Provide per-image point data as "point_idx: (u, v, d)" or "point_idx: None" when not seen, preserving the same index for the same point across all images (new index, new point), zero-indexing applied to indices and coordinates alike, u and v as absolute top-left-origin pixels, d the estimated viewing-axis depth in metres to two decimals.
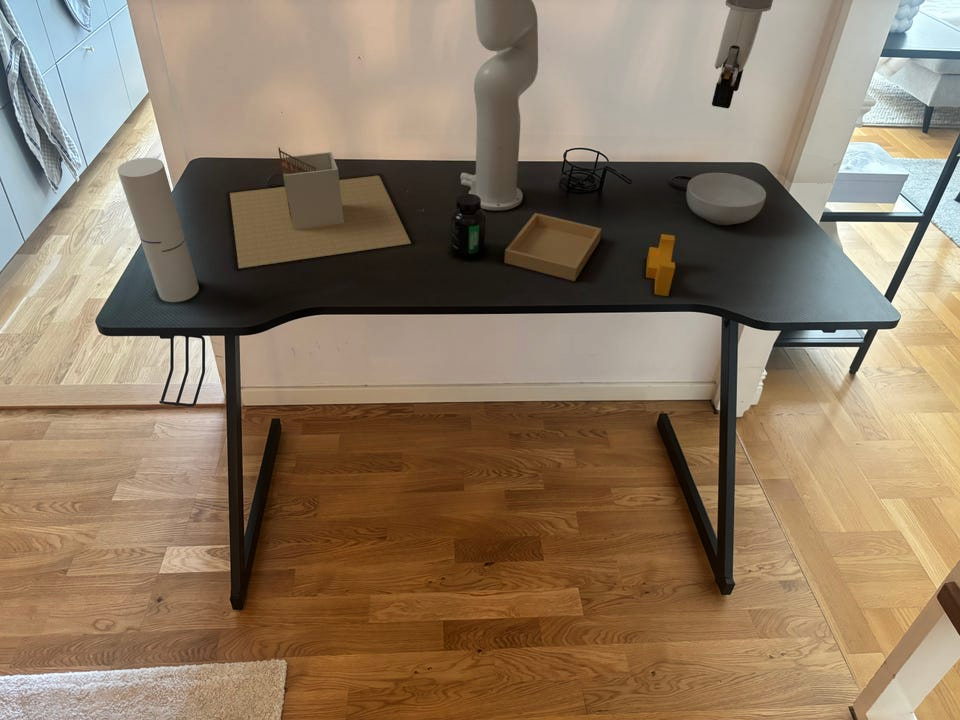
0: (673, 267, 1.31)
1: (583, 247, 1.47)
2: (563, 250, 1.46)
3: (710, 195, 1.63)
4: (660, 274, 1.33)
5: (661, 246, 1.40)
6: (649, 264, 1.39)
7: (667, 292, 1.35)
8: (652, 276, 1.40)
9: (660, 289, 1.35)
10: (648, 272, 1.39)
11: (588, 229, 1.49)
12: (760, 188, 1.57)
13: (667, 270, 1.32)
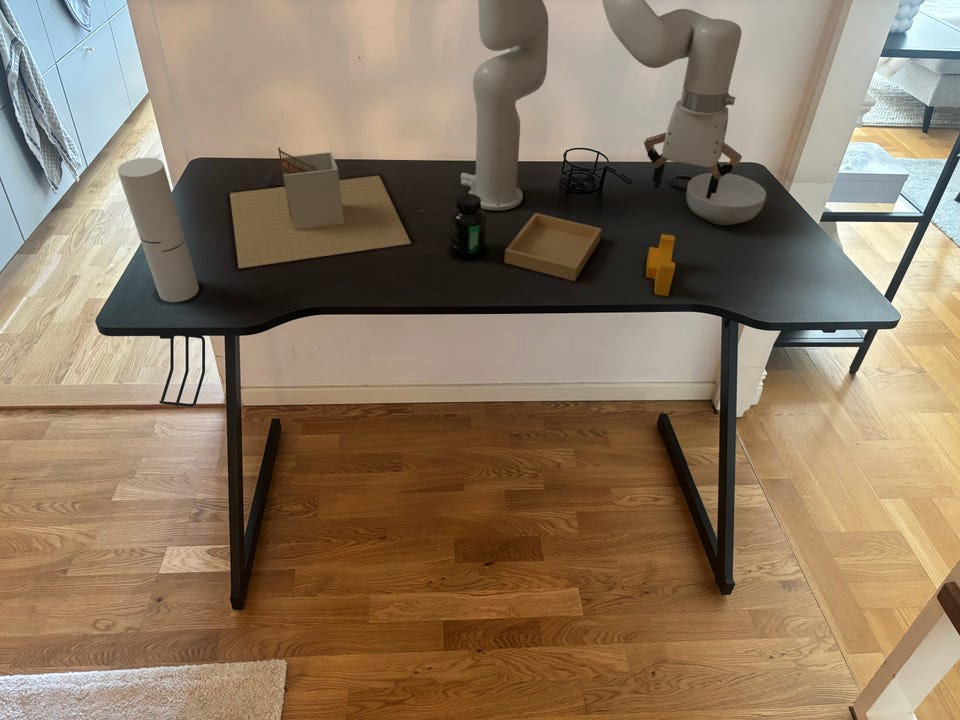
0: (674, 267, 1.31)
1: (583, 247, 1.47)
2: (563, 250, 1.46)
3: None
4: (660, 274, 1.33)
5: (661, 246, 1.40)
6: (649, 264, 1.39)
7: (667, 292, 1.35)
8: (652, 276, 1.40)
9: (660, 289, 1.35)
10: (648, 272, 1.39)
11: (588, 229, 1.49)
12: (760, 188, 1.57)
13: (668, 270, 1.32)
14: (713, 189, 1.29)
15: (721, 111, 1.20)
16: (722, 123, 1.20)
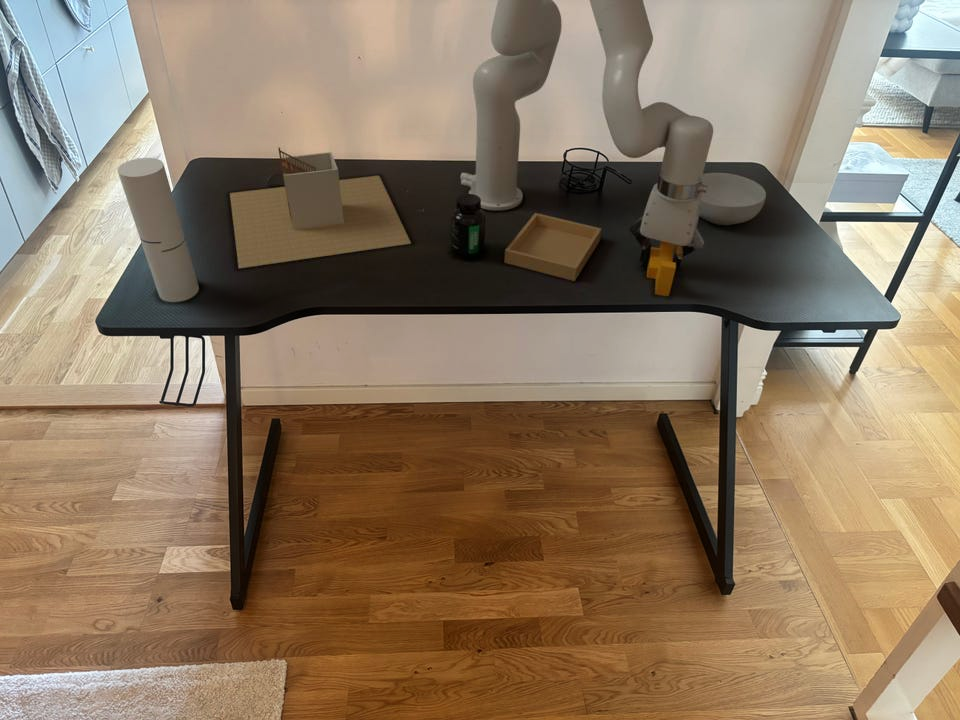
0: (674, 267, 1.31)
1: (583, 247, 1.47)
2: (563, 250, 1.46)
3: (710, 195, 1.63)
4: (661, 274, 1.33)
5: (662, 246, 1.40)
6: (650, 264, 1.39)
7: (668, 292, 1.35)
8: (653, 276, 1.40)
9: (661, 289, 1.35)
10: (649, 272, 1.39)
11: (588, 229, 1.49)
12: (760, 188, 1.57)
13: (668, 270, 1.32)
14: (676, 266, 1.40)
15: (694, 198, 1.29)
16: (695, 209, 1.30)
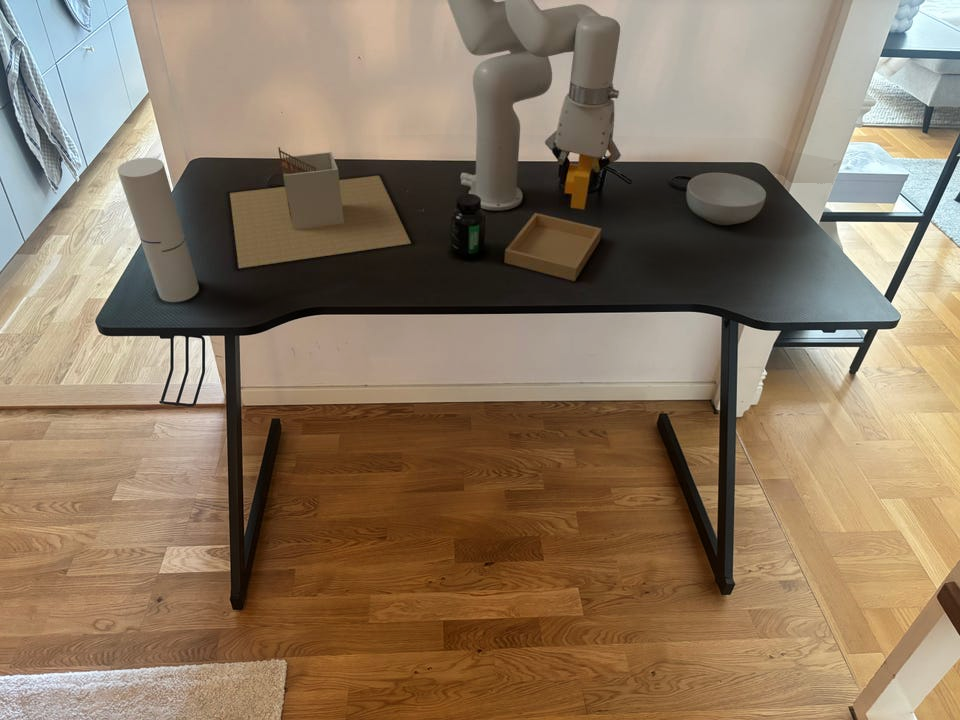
0: (587, 177, 1.28)
1: (583, 247, 1.47)
2: (563, 250, 1.46)
3: (710, 195, 1.63)
4: (574, 185, 1.29)
5: (580, 161, 1.36)
6: (567, 179, 1.36)
7: (583, 205, 1.32)
8: (570, 191, 1.36)
9: (576, 202, 1.32)
10: (566, 187, 1.36)
11: (588, 229, 1.49)
12: (760, 188, 1.57)
13: (581, 180, 1.29)
14: (594, 181, 1.36)
15: (606, 104, 1.26)
16: (607, 116, 1.27)
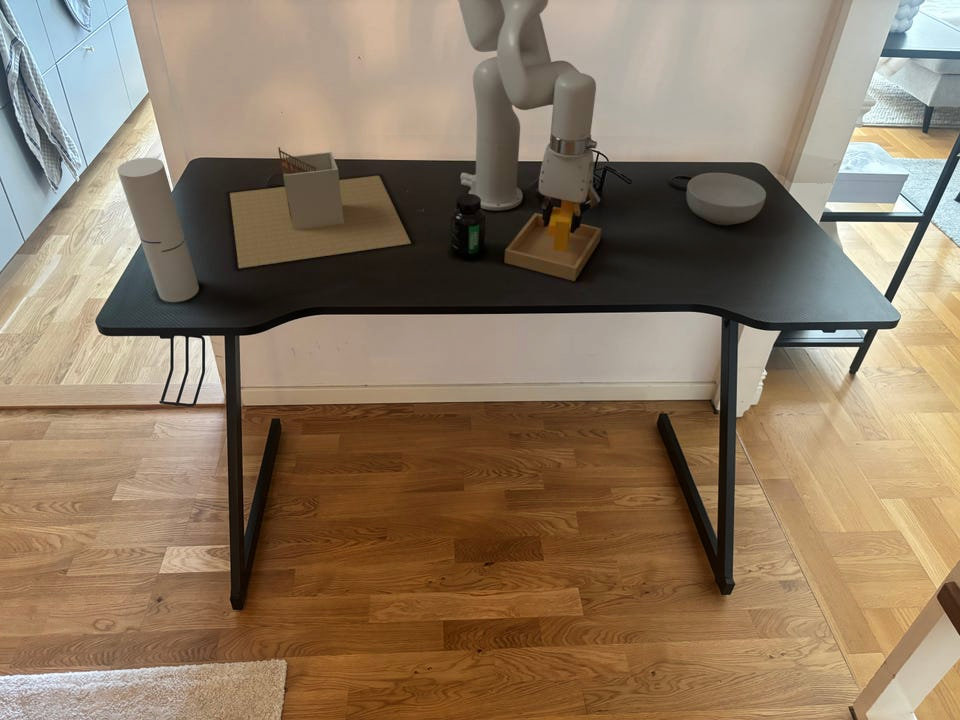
0: (568, 222, 1.35)
1: (583, 247, 1.47)
2: None
3: (710, 195, 1.63)
4: (556, 229, 1.36)
5: (562, 205, 1.44)
6: (550, 222, 1.43)
7: (565, 248, 1.39)
8: (553, 234, 1.43)
9: (558, 245, 1.38)
10: (549, 230, 1.43)
11: (588, 229, 1.49)
12: (760, 188, 1.57)
13: (562, 225, 1.36)
14: (576, 224, 1.43)
15: (584, 154, 1.33)
16: (586, 165, 1.34)
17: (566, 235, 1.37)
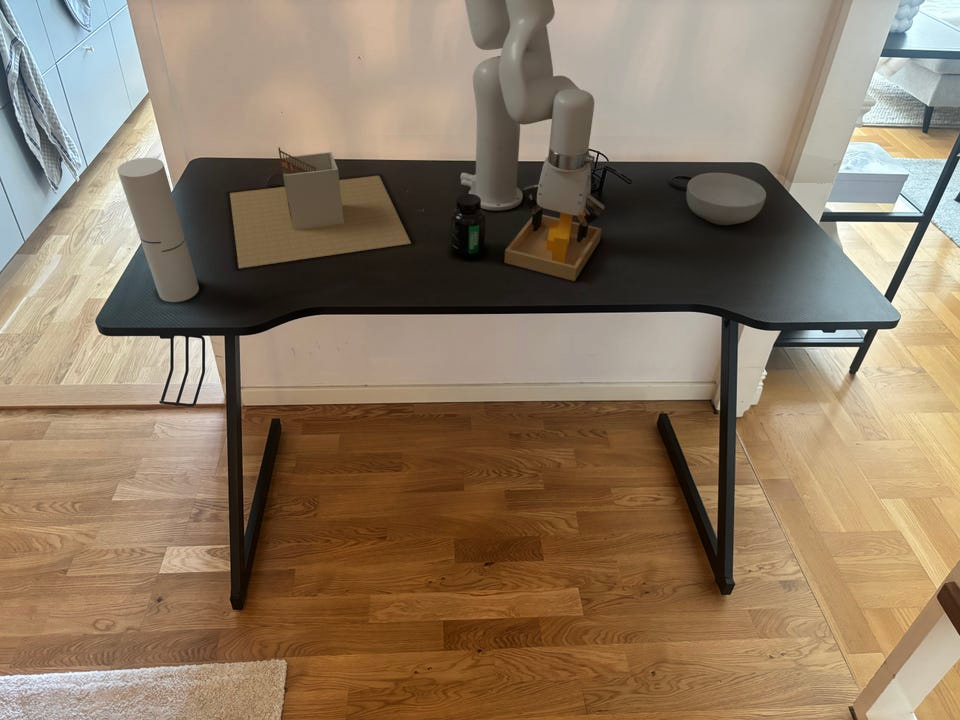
0: (566, 239, 1.37)
1: (583, 247, 1.47)
2: None
3: (710, 195, 1.63)
4: (554, 245, 1.39)
5: (560, 220, 1.46)
6: (548, 237, 1.45)
7: None
8: (551, 249, 1.46)
9: (555, 260, 1.41)
10: (547, 245, 1.45)
11: (588, 229, 1.49)
12: (760, 188, 1.57)
13: (560, 242, 1.38)
14: (582, 234, 1.44)
15: (582, 168, 1.35)
16: (584, 179, 1.36)
17: (564, 251, 1.39)
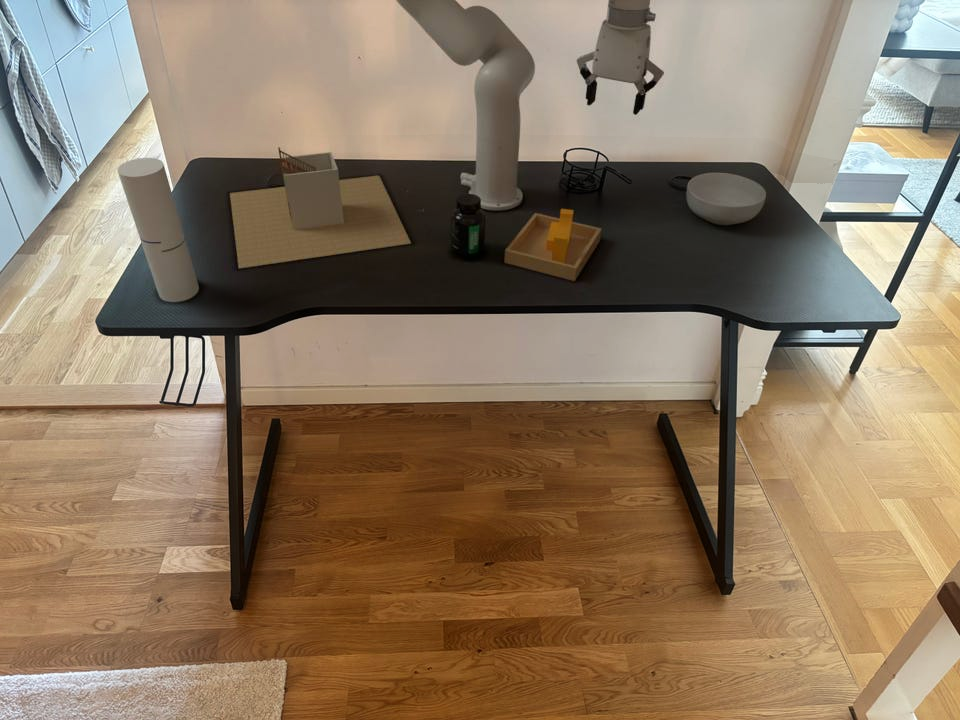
0: (566, 239, 1.37)
1: (583, 247, 1.47)
2: None
3: (710, 195, 1.63)
4: (554, 245, 1.39)
5: (560, 220, 1.46)
6: (548, 237, 1.45)
7: None
8: (551, 249, 1.46)
9: (555, 260, 1.41)
10: (547, 245, 1.45)
11: (588, 229, 1.49)
12: (760, 188, 1.57)
13: (560, 242, 1.38)
14: (639, 105, 1.38)
15: (642, 27, 1.29)
16: (644, 39, 1.30)
17: (564, 251, 1.39)
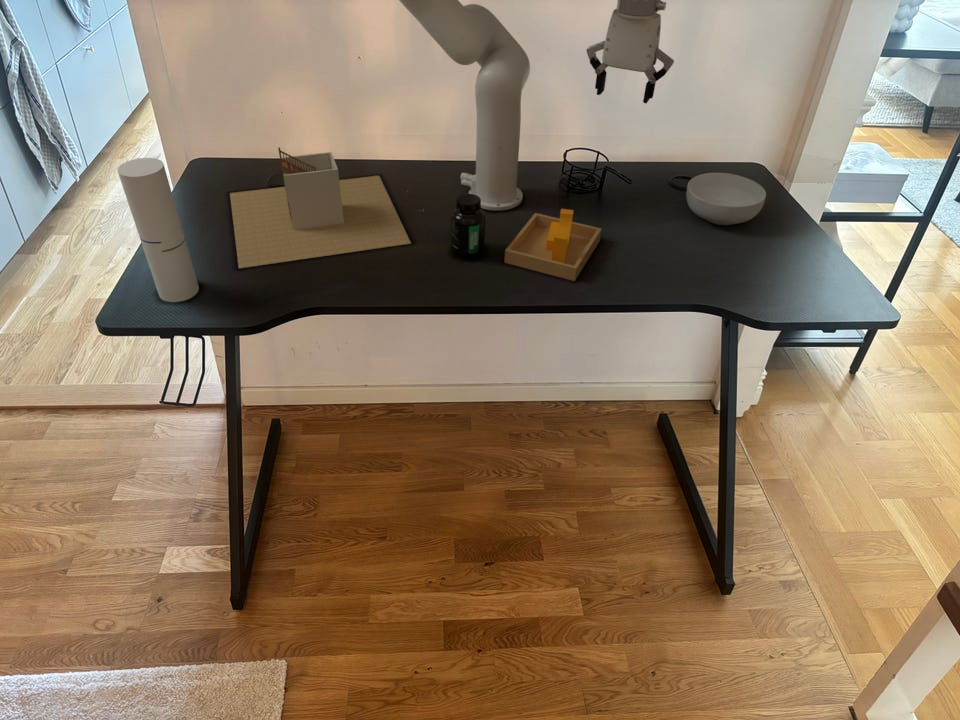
0: (566, 239, 1.37)
1: (583, 247, 1.47)
2: None
3: (710, 195, 1.63)
4: (554, 245, 1.39)
5: (560, 220, 1.46)
6: (548, 237, 1.45)
7: None
8: (551, 249, 1.46)
9: (555, 260, 1.41)
10: (547, 245, 1.45)
11: (588, 229, 1.49)
12: (760, 188, 1.57)
13: (560, 242, 1.38)
14: (649, 94, 1.40)
15: (653, 16, 1.31)
16: (654, 28, 1.31)
17: (564, 251, 1.39)
